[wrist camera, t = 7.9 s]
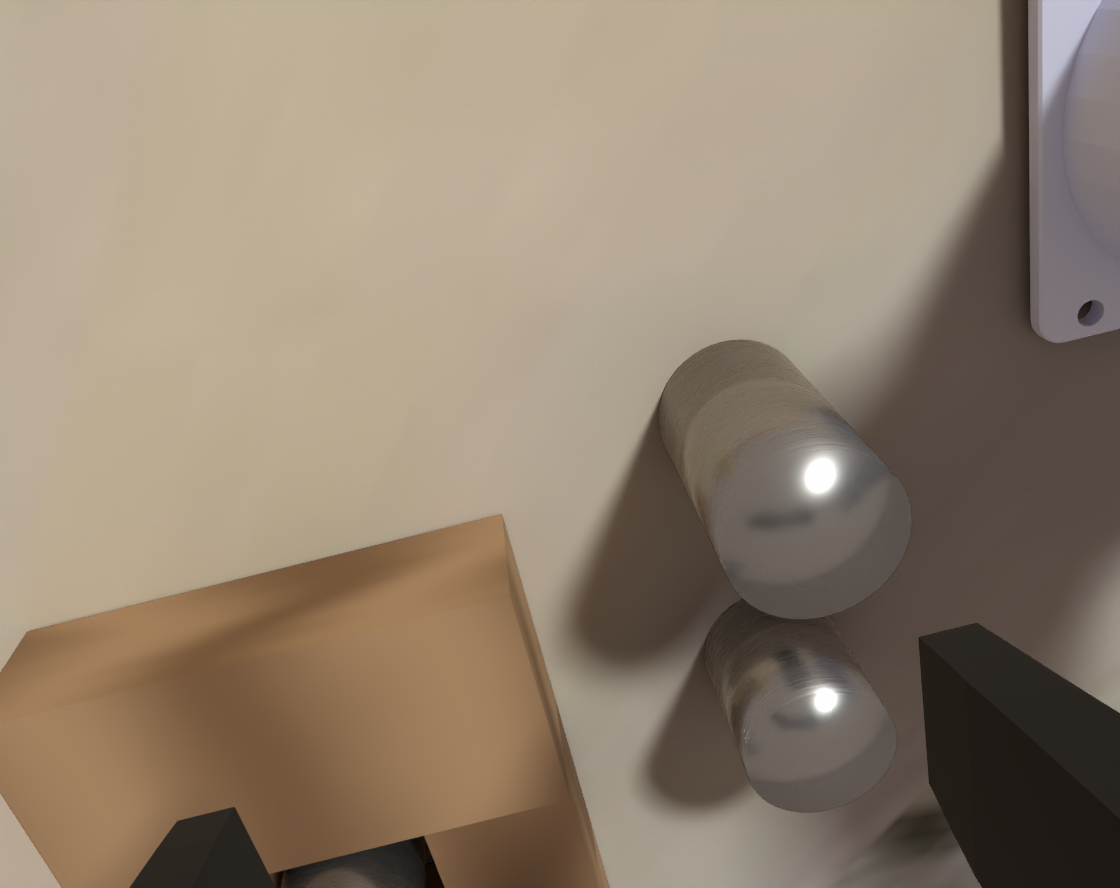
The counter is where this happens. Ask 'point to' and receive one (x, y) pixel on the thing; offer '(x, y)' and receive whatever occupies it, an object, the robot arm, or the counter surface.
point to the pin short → (798, 709)
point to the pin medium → (781, 482)
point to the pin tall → (366, 868)
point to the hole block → (306, 721)
